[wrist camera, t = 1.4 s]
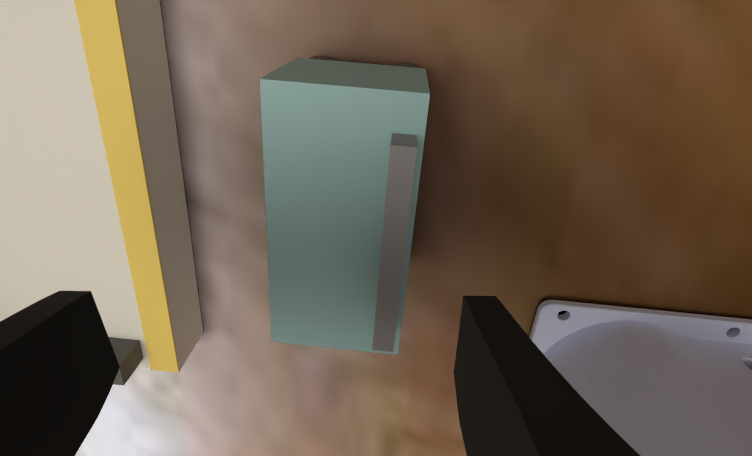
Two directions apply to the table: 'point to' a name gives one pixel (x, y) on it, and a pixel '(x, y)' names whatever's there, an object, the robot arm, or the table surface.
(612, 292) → the table surface
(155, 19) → the dock
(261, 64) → the table surface
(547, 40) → the table surface
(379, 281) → the teal rolling suitcase
